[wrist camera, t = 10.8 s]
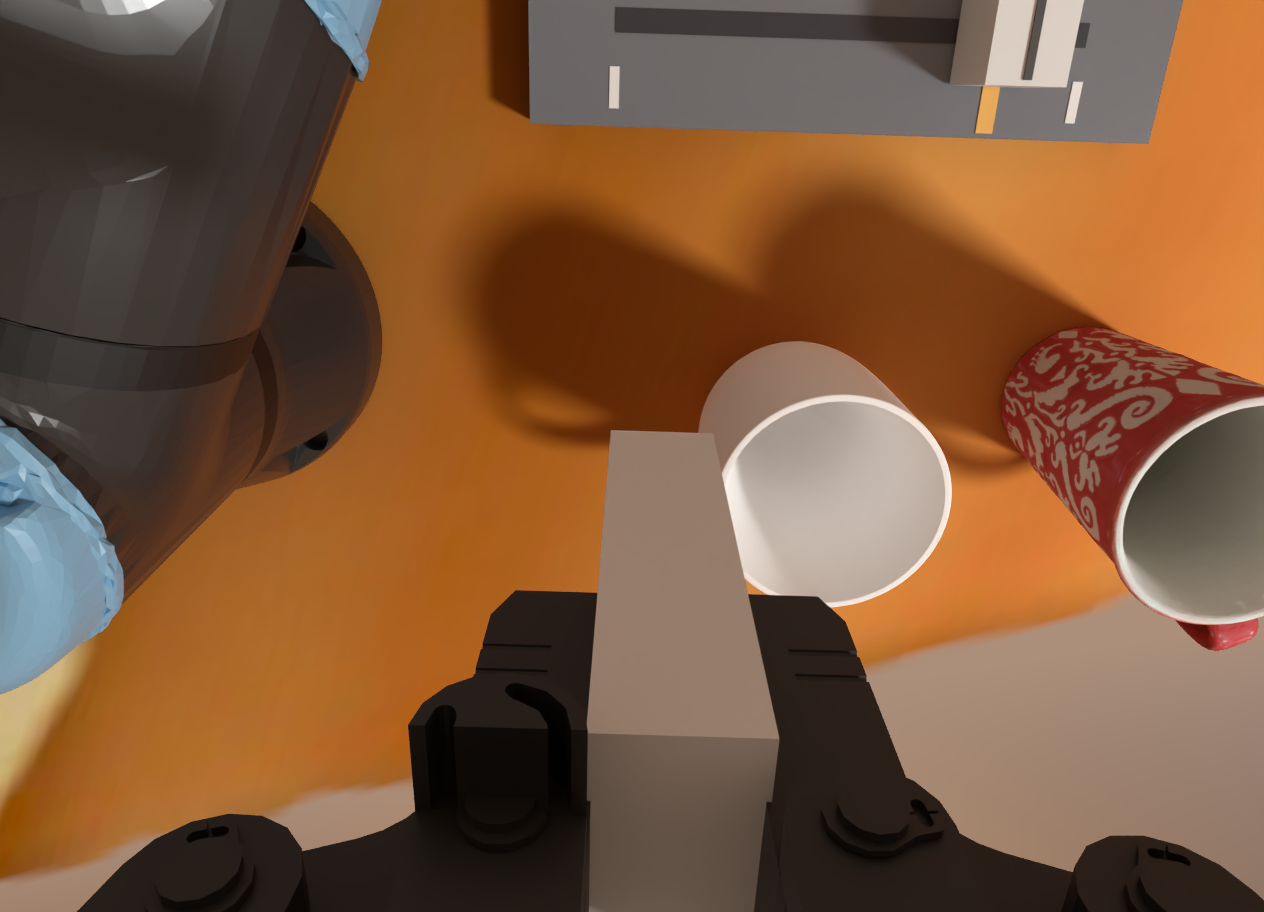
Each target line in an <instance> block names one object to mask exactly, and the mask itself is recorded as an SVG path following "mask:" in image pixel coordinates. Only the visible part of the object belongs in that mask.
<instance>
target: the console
mask: <svg viewBox="0 0 1264 912" xmlns="http://www.w3.org/2000/svg"><path fill="white" fill-rule="evenodd" d="M962 1H963V0H528V15H529V91H530V124H558V125H588V126H619V127H649V128H680V129H710V130H740V131H771V132H801V133H832V134H862V135H893V136H923V137H953V138H984V139H1014V140H1045V141H1075V142H1106V143H1136V144H1148V143H1149V139H1150V135H1151V131H1152V127H1153V123H1154V119H1155V114H1156V110H1157V106H1158V102H1159V98H1160V94H1161V90H1162V85H1163V81H1164V77H1165V73H1166V69H1167V65H1168V61H1169V57H1170V52H1171V48H1172V44H1173V40H1174V36H1175V32H1176V28H1177V24H1178V19H1179V15H1180V11H1181V7H1182V3H1183V0H1084V3H1083V8H1082V13H1081V18H1080V23H1079V28H1078V33H1077V38H1076V42H1075V47H1074V52H1073V57H1072V62H1071V67H1070V72H1069V77H1068V82H1067V87H1057V88H1014V87H984V86H954V85H949V84H950V77H951V71H952V65H953V58H954V52H955V45H956V39H957V33H958V26H959V20H960V13H961V7H962Z"/></svg>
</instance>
